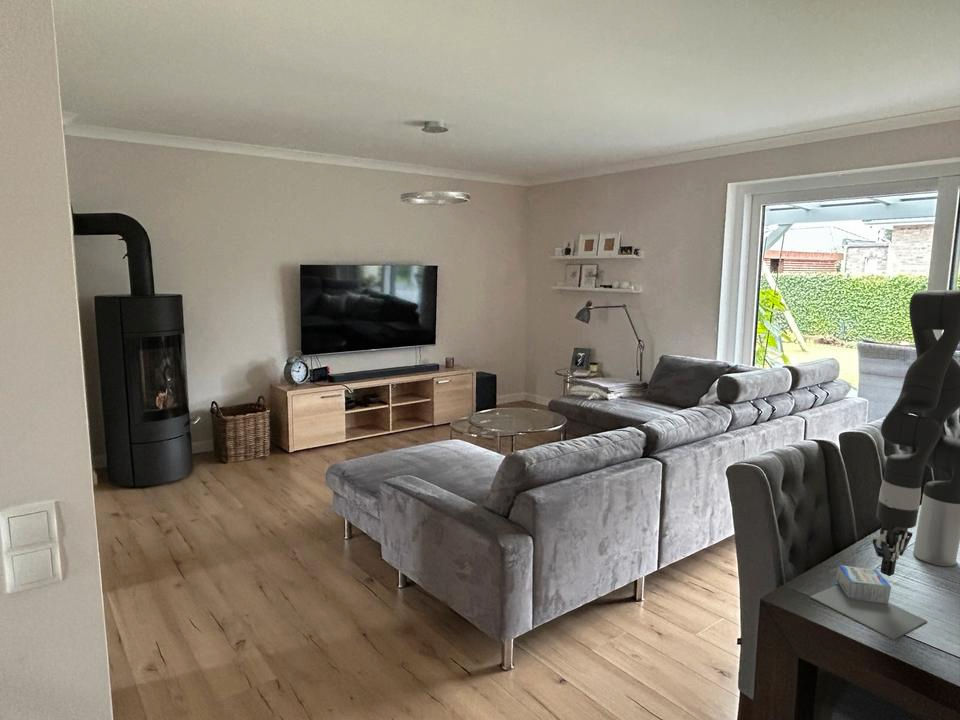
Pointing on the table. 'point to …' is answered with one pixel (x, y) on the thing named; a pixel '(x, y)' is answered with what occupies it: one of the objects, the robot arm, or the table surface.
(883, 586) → the medicine box
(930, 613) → the table surface
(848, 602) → the slate mat
